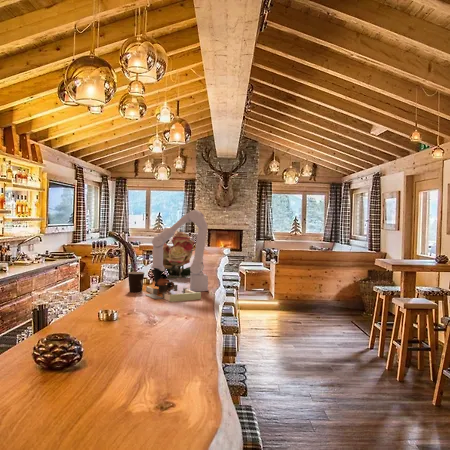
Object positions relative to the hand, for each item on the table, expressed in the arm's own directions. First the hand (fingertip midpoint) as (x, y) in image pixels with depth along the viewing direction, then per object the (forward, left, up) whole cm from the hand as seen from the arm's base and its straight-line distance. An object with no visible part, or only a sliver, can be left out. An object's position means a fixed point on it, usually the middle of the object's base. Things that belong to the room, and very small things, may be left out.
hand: (157, 282), depth 246 cm
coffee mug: (+12, +4, -4) cm, 13 cm away
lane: (+1, +20, -3) cm, 20 cm away
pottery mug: (+1, +12, -4) cm, 12 cm away
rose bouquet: (-31, -41, -4) cm, 51 cm away
